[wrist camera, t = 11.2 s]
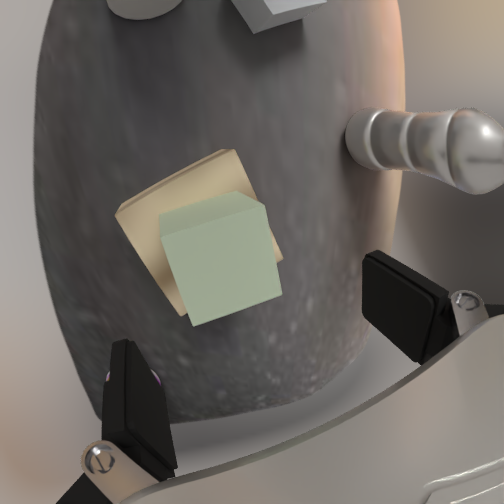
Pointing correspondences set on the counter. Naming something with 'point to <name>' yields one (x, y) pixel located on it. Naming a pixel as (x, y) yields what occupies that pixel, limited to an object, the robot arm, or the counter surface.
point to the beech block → (175, 196)
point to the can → (141, 8)
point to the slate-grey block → (274, 11)
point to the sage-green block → (220, 255)
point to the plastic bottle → (431, 145)
